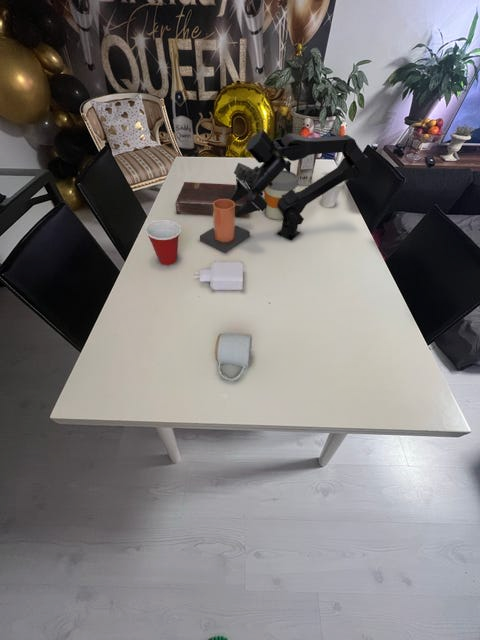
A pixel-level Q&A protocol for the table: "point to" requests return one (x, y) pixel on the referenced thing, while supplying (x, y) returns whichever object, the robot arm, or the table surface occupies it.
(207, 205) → the hardback book
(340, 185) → the dixie cup
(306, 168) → the coffee box
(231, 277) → the charger
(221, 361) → the ceramic mug
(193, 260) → the table surface
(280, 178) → the reusable coffee cup
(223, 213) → the cup
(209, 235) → the dark grey base plate
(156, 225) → the plastic cup
